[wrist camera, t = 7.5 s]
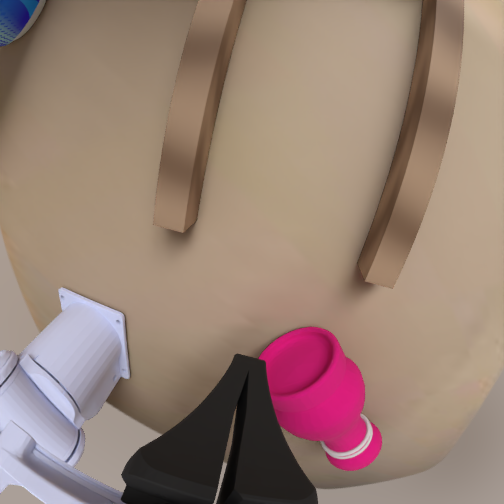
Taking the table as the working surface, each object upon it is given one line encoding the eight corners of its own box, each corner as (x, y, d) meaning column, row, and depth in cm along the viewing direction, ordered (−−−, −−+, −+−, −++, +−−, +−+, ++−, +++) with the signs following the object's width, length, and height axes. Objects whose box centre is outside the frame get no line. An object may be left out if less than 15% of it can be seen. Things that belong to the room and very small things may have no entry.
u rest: (382, 270, 18) (392, 288, 16) (169, 213, 19) (153, 224, 16) (448, -20, 8) (461, -32, 6) (245, -76, 9) (239, -94, 6)
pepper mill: (299, 310, 22) (361, 420, 28) (228, 372, 19) (320, 462, 26) (369, 338, 15) (405, 446, 22) (282, 427, 13) (360, 494, 20)
